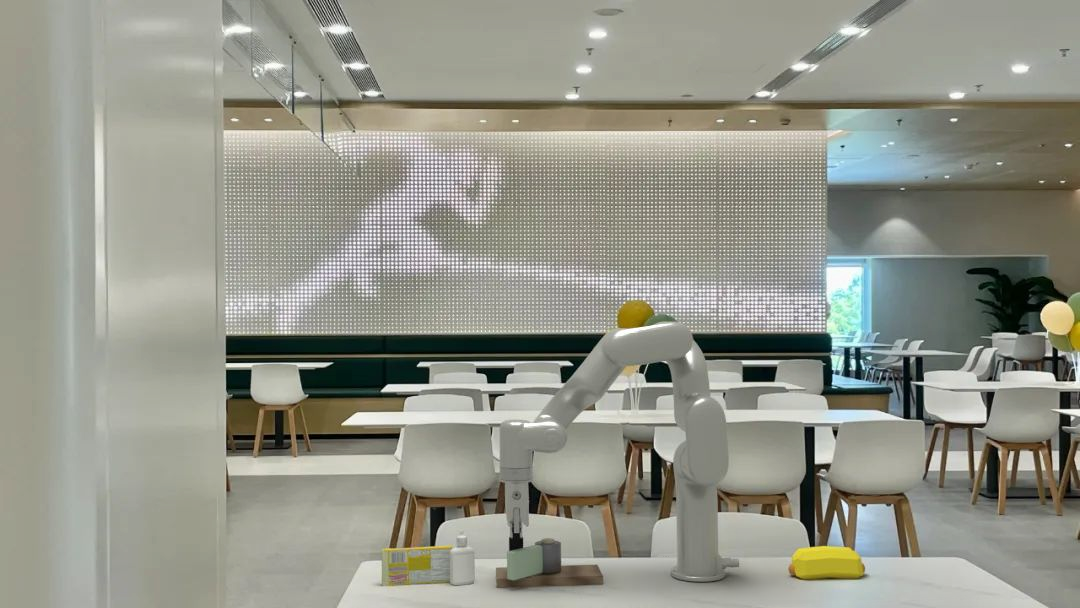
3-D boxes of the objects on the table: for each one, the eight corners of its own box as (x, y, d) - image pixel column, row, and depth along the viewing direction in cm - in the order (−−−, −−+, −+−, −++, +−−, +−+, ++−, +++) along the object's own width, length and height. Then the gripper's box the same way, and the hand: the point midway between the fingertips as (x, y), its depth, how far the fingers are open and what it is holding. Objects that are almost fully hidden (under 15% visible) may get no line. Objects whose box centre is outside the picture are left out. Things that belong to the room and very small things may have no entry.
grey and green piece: (548, 565, 224) (547, 535, 224) (566, 569, 220) (566, 539, 220) (501, 578, 214) (500, 546, 214) (519, 583, 209) (519, 550, 210)
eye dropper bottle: (472, 586, 216) (471, 532, 216) (448, 585, 217) (447, 532, 217) (476, 580, 220) (475, 528, 221) (452, 580, 221) (451, 528, 221)
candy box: (452, 580, 221) (452, 544, 221) (453, 583, 219) (452, 546, 219) (382, 584, 219) (381, 547, 219) (381, 586, 217) (381, 550, 217)
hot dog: (871, 580, 217) (859, 571, 224) (871, 550, 217) (858, 543, 225) (793, 582, 216) (783, 573, 224) (792, 552, 216) (783, 544, 224)
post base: (597, 572, 226) (597, 563, 226) (602, 584, 216) (602, 574, 216) (496, 576, 224) (495, 566, 224) (496, 587, 214) (496, 577, 214)
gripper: (534, 479, 210) (534, 563, 210) (531, 469, 225) (531, 547, 225) (500, 479, 210) (500, 563, 209) (499, 469, 225) (499, 547, 224)
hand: (516, 555), depth 217 cm, fingers closed
